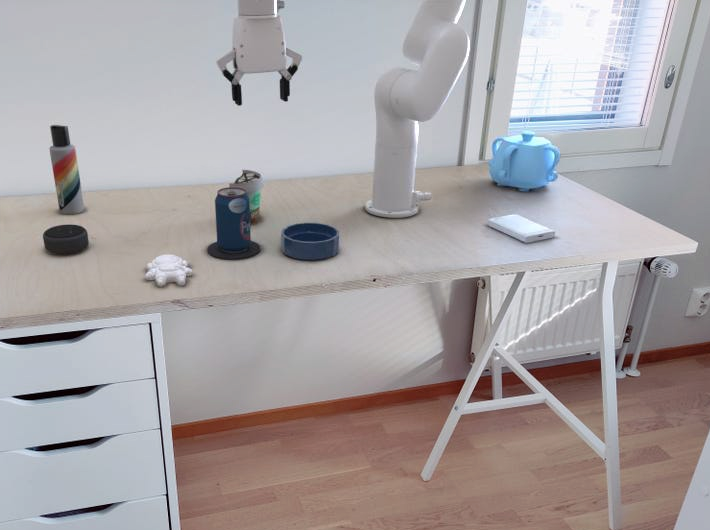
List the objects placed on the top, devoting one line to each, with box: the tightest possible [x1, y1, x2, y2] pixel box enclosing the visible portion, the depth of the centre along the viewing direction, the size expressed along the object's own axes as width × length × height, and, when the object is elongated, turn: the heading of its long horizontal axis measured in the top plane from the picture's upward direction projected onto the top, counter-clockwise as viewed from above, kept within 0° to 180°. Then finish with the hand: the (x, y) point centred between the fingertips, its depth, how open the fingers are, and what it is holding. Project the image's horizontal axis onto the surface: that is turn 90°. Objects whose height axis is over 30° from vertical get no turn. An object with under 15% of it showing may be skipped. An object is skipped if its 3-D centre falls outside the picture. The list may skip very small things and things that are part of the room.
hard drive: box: [486, 213, 556, 244], centre depth 157 cm, size 2×8×12 cm
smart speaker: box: [42, 223, 90, 256], centre depth 147 cm, size 9×9×4 cm
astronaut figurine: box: [144, 254, 193, 288], centre depth 136 cm, size 9×12×3 cm
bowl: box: [280, 221, 340, 261], centre depth 146 cm, size 12×12×4 cm
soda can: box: [214, 186, 252, 253], centre depth 144 cm, size 7×7×12 cm
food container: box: [228, 169, 265, 226], centre depth 161 cm, size 12×6×10 cm, turn 168°
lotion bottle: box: [49, 124, 85, 215], centre depth 164 cm, size 6×6×20 cm
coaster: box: [206, 240, 261, 261], centre depth 147 cm, size 11×11×1 cm
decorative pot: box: [488, 130, 561, 192], centre depth 184 cm, size 16×16×14 cm
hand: (261, 102), depth 144 cm, fingers open, 9 cm apart
